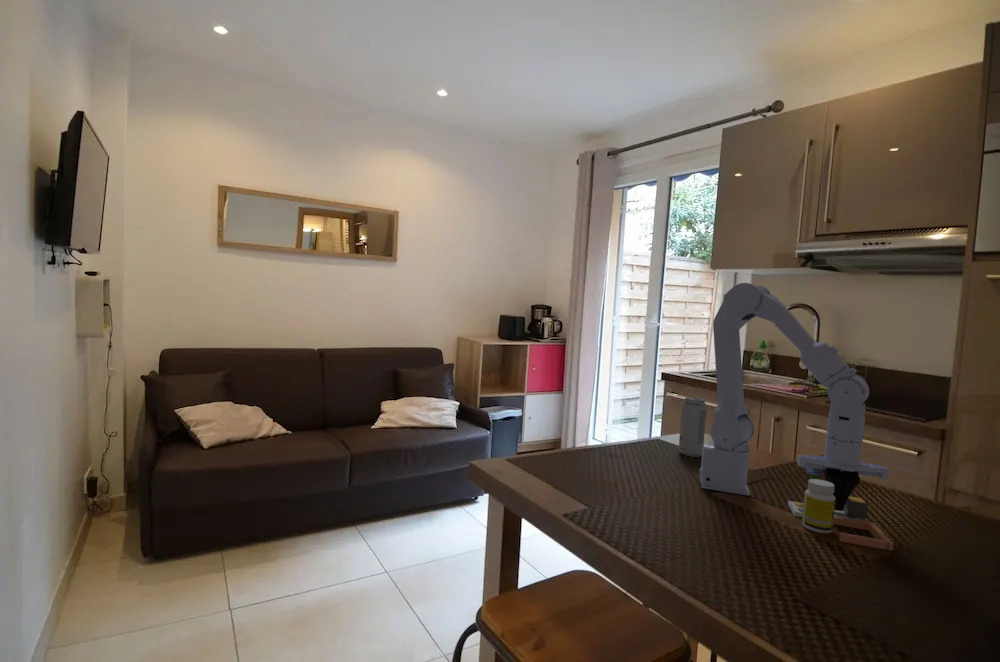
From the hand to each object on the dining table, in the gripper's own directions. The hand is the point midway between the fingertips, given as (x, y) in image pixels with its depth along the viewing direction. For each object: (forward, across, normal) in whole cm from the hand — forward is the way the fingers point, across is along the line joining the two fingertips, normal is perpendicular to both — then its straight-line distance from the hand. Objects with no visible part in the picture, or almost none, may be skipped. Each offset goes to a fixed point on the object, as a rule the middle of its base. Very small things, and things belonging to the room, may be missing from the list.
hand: (837, 508), depth 98 cm
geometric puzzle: (+2, +2, +22) cm, 22 cm away
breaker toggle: (+1, +3, 0) cm, 3 cm away
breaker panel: (+2, -2, 0) cm, 3 cm away
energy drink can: (+2, -26, +31) cm, 40 cm away
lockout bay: (+2, +2, -8) cm, 8 cm away
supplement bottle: (+2, -5, -8) cm, 9 cm away
